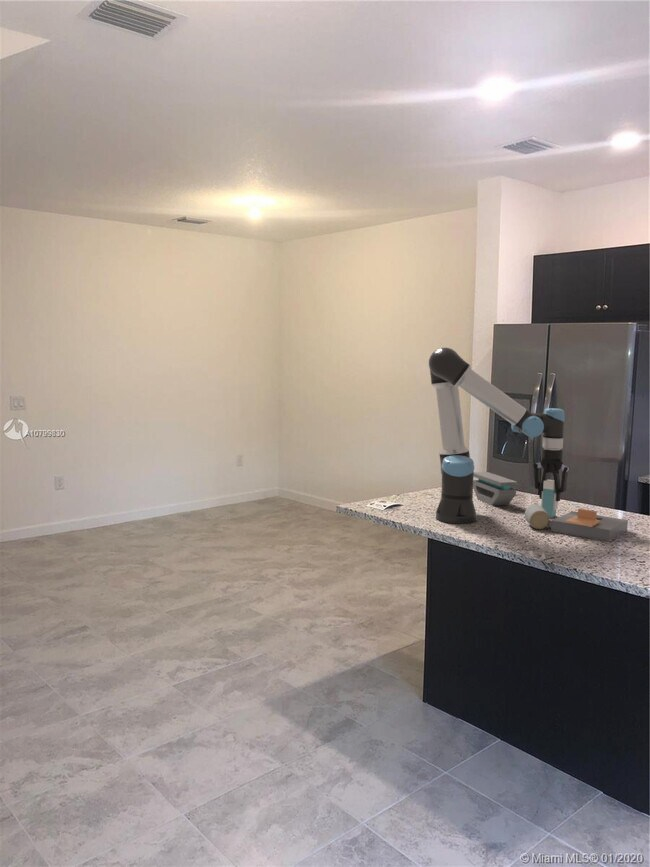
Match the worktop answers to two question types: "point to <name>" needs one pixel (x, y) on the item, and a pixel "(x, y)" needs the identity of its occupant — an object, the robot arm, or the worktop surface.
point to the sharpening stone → (493, 488)
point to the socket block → (600, 531)
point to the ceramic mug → (537, 517)
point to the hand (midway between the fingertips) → (549, 508)
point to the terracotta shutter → (585, 518)
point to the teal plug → (549, 497)
